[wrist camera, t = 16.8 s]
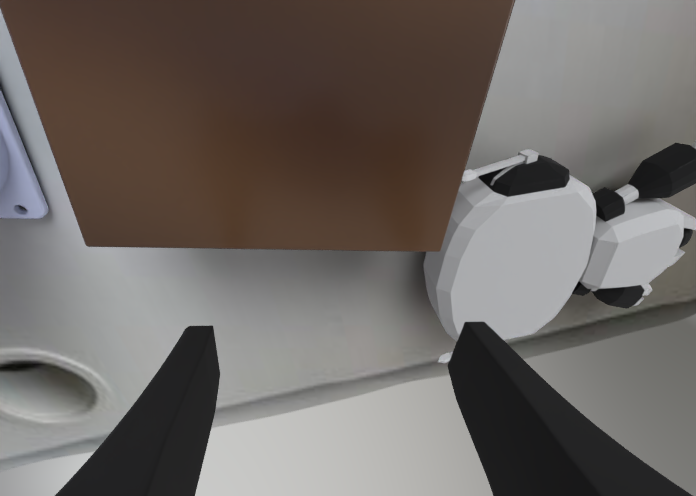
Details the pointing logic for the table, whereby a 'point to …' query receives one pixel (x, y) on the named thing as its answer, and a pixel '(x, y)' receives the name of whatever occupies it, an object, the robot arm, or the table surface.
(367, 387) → the table surface
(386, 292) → the table surface
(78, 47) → the cabinet
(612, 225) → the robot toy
